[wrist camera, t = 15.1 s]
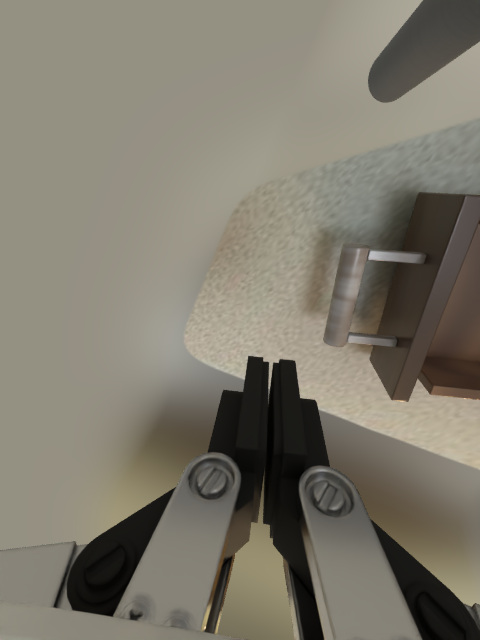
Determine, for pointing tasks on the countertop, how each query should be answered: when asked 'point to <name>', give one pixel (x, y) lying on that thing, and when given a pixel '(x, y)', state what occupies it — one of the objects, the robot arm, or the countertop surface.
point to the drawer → (421, 301)
